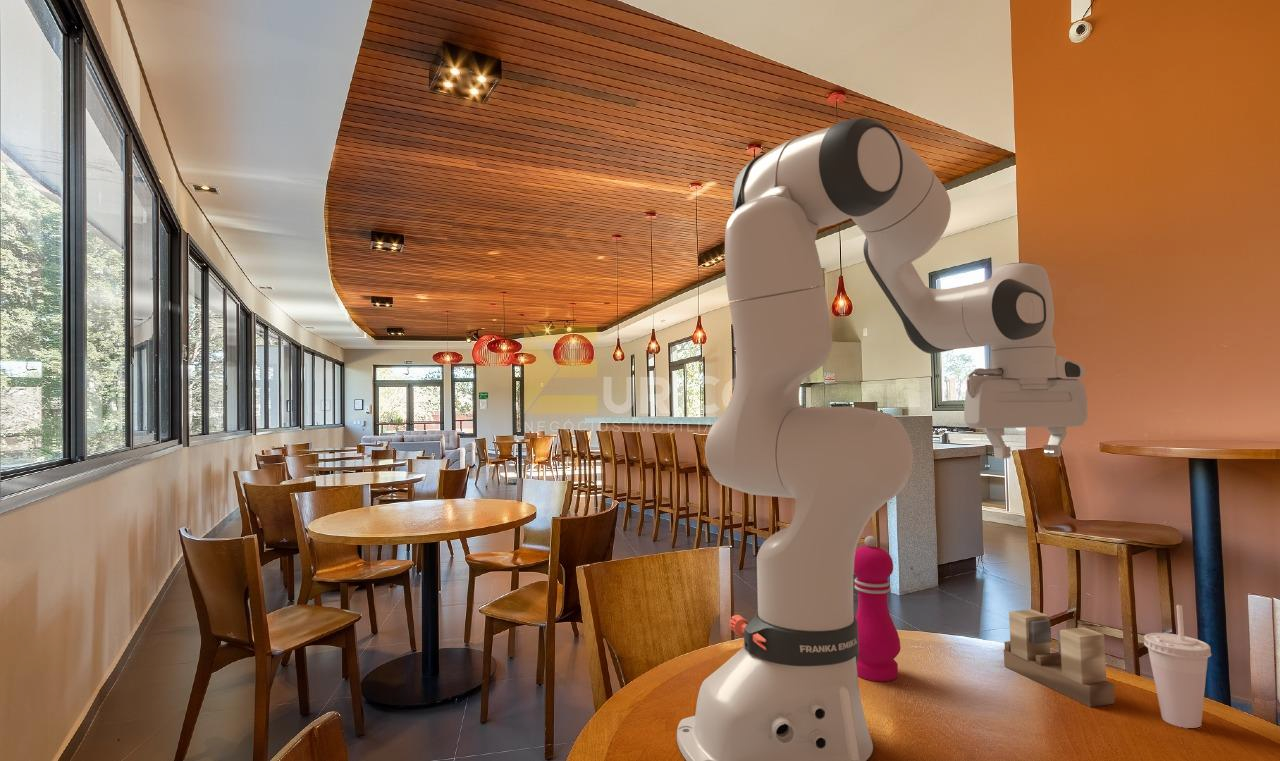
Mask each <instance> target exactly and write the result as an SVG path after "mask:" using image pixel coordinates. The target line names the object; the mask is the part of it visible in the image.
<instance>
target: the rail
mask: <svg viewBox="0 0 1280 761" xmlns="http://www.w3.org/2000/svg"><path fill="white" fill-rule="evenodd" d="M1057 638H1058V639H1057V640H1058V644H1057V645H1058V651H1057V652H1050V653H1048V654H1040V655H1036V659H1034V660H1026V659H1023V658H1021V657H1019V656H1017V655H1014V654H1012V653H1011V645H1010V640H1008V641H1004V649H1003V663H1004V664H1003V665H1004V668H1006V669H1009V670H1010V671H1013V672H1015V673H1017V674H1020V675H1021V676H1024V677H1026V678H1028V679H1030V680H1031V681H1032V680H1033V681H1034V682H1036V683H1039V684H1041V685H1043V686H1045V687H1047V688H1049V689H1052V690H1054V691H1055V692H1057V693H1059V694H1062V695H1064V696H1065V697H1068V698H1070V699H1072V700H1075V701H1077V702H1079V703H1081V704H1083V705H1085V706H1087V707H1090V708H1092V707H1098V706H1099V707H1101V706H1105V705H1106V706H1107V705H1112V704H1115V703H1116V702H1115V701H1116V699H1115V684H1114V683H1113V682H1110V681H1108V680H1107V664H1106V662H1107V661H1106V646H1105V634H1104V633H1101V632H1098V631H1095V630H1093V629H1089V628H1087V627H1085V626H1082V627H1075V628H1074V627H1073V628H1065V629H1060V630H1059V631H1057Z"/></svg>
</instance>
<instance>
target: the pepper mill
mask: <svg viewBox="0 0 1280 761" xmlns="http://www.w3.org/2000/svg"><path fill="white" fill-rule="evenodd" d="M877 545H878V539H877V538H876V537H874V536H873V535H868V536H866V537H865V538H864V546H861V547H858V548H857V549H856V553H855V560H854V575H855V578H854V579H853V582H854V583H855V584H854V589H855V590H856V591H857V596H858V603H857V606H858V607H857V611H856V614H855V616H854V617H855V618H856V620H857V622H858V637H859V657H858V662H857V673H858V678H861V679H863V680H868V681H872V682H891V681H894V680H896V679H897V678H898V676H899V675H898V674H899V668H898V666H899V665H898V664H899V663H898V661H897V660H895V659H896V657H898V655H899V654H900V652H901V648H902V647H901V640H900V636H899V633H898V630H897V628H896V626H895V624H894V622H893V620H892V617H891V615H890V611H889V607H888V593H889V592H890V591H891V587H890V585H891V582H890V580H889V577H890V576H891V575H892V574H893V572H894V562H893V558H892V557H891V555H890V553H889V552H887V551H886V550H885V549H883V548H882V547H878V546H877Z"/></svg>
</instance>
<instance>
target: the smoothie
mask: <svg viewBox="0 0 1280 761" xmlns="http://www.w3.org/2000/svg"><path fill="white" fill-rule="evenodd" d="M1183 613H1184V611H1183V605H1182V604H1176V616H1177V617H1176V618H1177V619H1176V620H1177V621H1176V622H1177V634H1175V633H1167V632H1150V633H1147V634H1145V635H1144V636H1143V637H1144V641H1143V644H1144V646H1145V647H1146V648H1147V649H1148V650H1147V651H1148V656H1149V661H1150V666H1151V670H1152V675H1153V680H1154V685H1155V691H1156V695H1157V699H1158V705H1159V709H1160V710H1159V711H1160V715H1161V719H1162V720H1163V721H1164V722H1166V723H1168V724H1170V725H1173V726H1176V727H1179V728H1182V727H1183V728H1184V729H1188V728H1195V727H1200V726H1201V727H1202V720H1203V710H1204V703H1205V702H1204V701H1205V688H1206V679H1207V671H1208V661H1209V660H1208V658H1210V657H1211V656H1212V653H1211V645H1209V644H1208V643H1206V642H1205V641H1202V640H1201V639H1197V638H1194V637H1190V636H1186V635H1185V629H1184V614H1183ZM1198 696H1199V697H1198ZM1201 727H1200V728H1201Z"/></svg>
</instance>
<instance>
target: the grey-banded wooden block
mask: <svg viewBox="0 0 1280 761" xmlns="http://www.w3.org/2000/svg"><path fill="white" fill-rule="evenodd" d="M1008 620H1009V641H1010V645H1011V653H1012V654H1014V655H1017V656H1019V657H1021V658H1023V659H1026V660H1034V659H1036V655H1040V654H1048V653H1051V649H1050V647H1051V644H1050V643H1052V629H1051V627H1052V624H1051V620H1050V619H1049V615H1048V614H1046V613H1042V612H1039V611H1037V610H1034V609H1023V610H1014V611H1013V610H1012V611H1009V612H1008Z"/></svg>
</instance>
